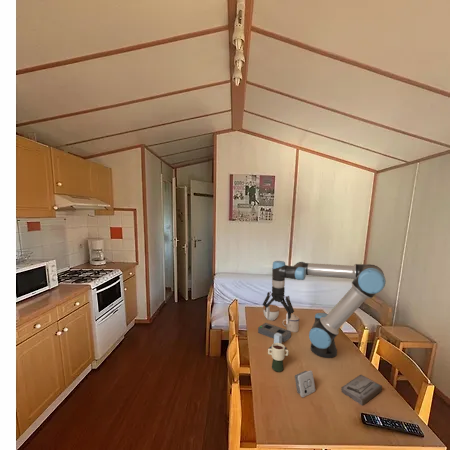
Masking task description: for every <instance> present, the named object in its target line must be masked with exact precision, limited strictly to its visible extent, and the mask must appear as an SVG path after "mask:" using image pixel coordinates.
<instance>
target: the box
mask: <svg viewBox="0 0 450 450" xmlns="http://www.w3.org/2000/svg"><path fill="white" fill-rule="evenodd" d="M340 390H341V391H340V392H341V393H342V394H343V395H345V396H347V397H348V398H350V399H351V400H352V401H355V403H358V404H359V405H360V406H361V407H363V406H365V404H367V403H368V402H369V401H371V400H372V399H374V397H375V396H377V395H379V393H381V392H382V391H383V386H382V385H381V383H380V384H379V383H377V382H375V381H374V380H371V379H370V378H368V377H367V376H365V375H363V374H359V375H357V377H355V378H353V379H351V380H350V381H348V382H347V383H346V384H344V385H343V386H341V389H340Z"/></svg>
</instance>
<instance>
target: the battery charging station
mask: <svg viewBox="0 0 450 450" xmlns="http://www.w3.org/2000/svg"><path fill="white" fill-rule="evenodd" d="M257 333H258V334H261V335H263V336H265V337H268V338H270V339H273V340H274V334H276V333H279V334H282V343H285V342H287V341H288V340H289V339H290V338H291V337H292V332H291V331H289V330H287V329H286V328H282V327H279V326H278V325H275V324H271V323H268V322H264V323H263V324H261V325H260V326H258V327H257Z"/></svg>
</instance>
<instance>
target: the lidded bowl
mask: <svg viewBox="0 0 450 450" xmlns="http://www.w3.org/2000/svg"><path fill="white" fill-rule="evenodd" d="M268 307H270V316H269V317H268V318H266V312H265V306H263V305H262V309H263V312H262V313H263V315H264V317H265V318H266V320H268V321H276V319H277V318H278V317H279V315H280V307H279V306H278V305H276V304H270V305H269V306H268Z"/></svg>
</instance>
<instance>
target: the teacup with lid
mask: <svg viewBox="0 0 450 450" xmlns="http://www.w3.org/2000/svg"><path fill="white" fill-rule="evenodd" d="M285 321H286V318H285V319H282V325H283V327H286V328H285V329H286V330H289V331H291V333H297V332H299V330H300V328H299V327H300V317H299V316H298V315H295V313H291V318H290V320H289V324H284V322H285Z"/></svg>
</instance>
